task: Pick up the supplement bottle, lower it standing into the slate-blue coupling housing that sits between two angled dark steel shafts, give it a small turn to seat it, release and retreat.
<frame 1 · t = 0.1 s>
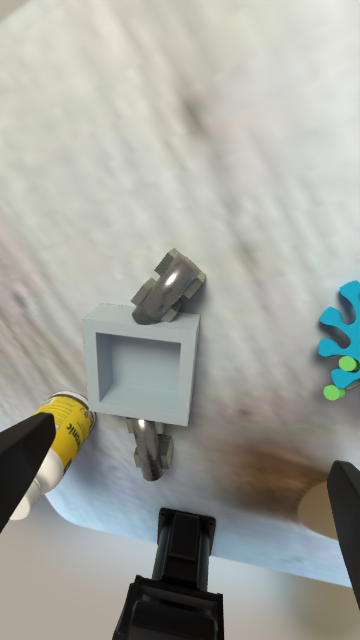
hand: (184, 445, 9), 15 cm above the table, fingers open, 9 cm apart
shaft a: (154, 424, 28), on the table
supplement bottle: (73, 409, 29), on the table
shaft b: (171, 284, 22), on the table
housing: (149, 353, 25), on the table
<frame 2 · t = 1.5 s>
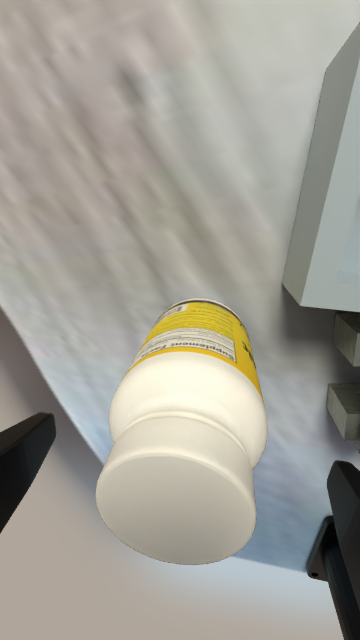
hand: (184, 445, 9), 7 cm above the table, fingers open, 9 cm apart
supplement bottle: (200, 339, 16), on the table
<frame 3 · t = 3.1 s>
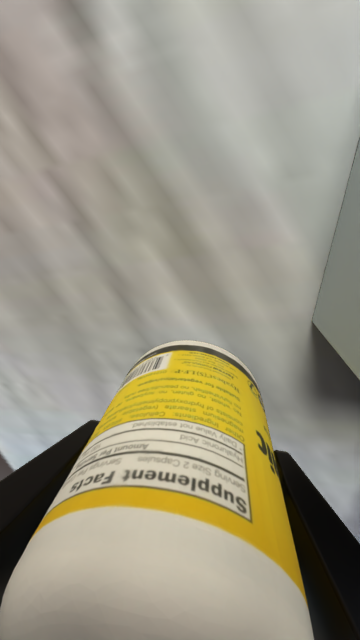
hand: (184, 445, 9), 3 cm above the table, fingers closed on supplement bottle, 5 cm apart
supplement bottle: (193, 393, 11), on the table, touching gripper
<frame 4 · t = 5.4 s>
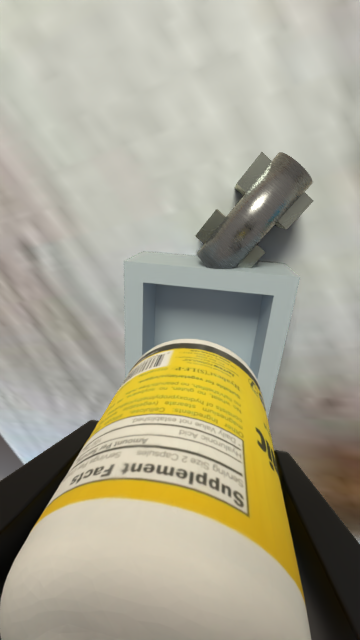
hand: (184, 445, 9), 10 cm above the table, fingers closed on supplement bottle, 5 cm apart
supplement bottle: (194, 391, 11), point 7 cm above the table, touching gripper
shaft b: (246, 219, 16), on the table
housing: (205, 322, 18), on the table
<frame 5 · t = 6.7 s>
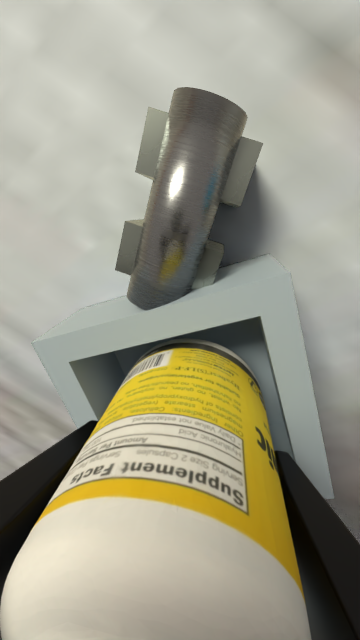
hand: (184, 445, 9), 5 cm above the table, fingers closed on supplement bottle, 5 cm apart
supplement bottle: (194, 391, 11), point 2 cm above the table, touching gripper
shaft b: (189, 216, 11), on the table
housing: (196, 368, 13), on the table
when the fingers open (5 cm above the table, at t = 7.8 s): supplement bottle stays where it is, resting on housing.
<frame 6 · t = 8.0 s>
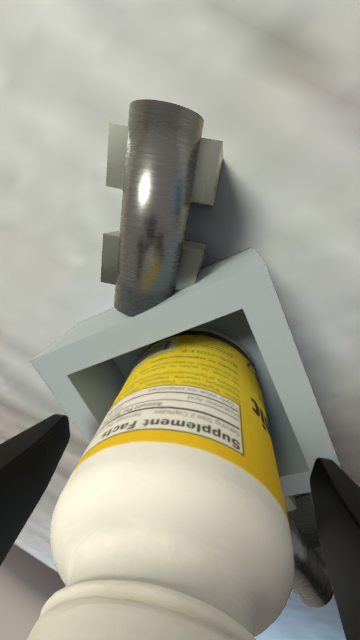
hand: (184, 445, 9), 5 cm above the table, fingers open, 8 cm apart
shaft a: (268, 485, 15), on the table
supplement bottle: (198, 375, 13), resting on housing
shaft b: (169, 220, 11), on the table
housing: (197, 369, 13), on the table
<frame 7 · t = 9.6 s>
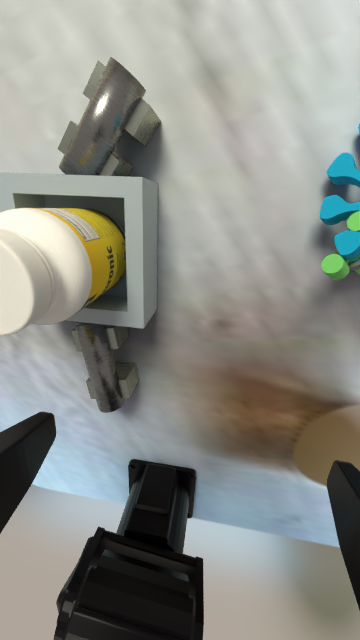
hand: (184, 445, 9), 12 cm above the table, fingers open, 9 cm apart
shaft a: (113, 348, 22), on the table
supplement bottle: (97, 249, 19), resting on housing
shaft b: (117, 141, 17), on the table
housing: (98, 247, 20), on the table
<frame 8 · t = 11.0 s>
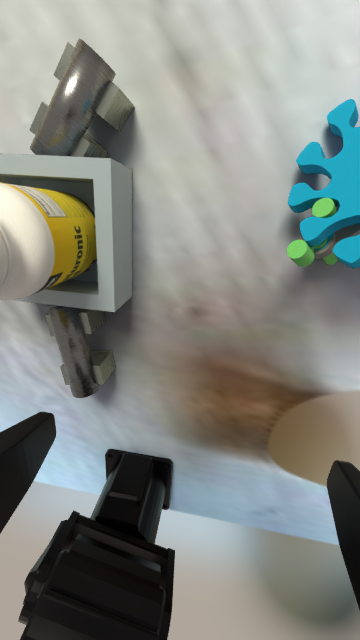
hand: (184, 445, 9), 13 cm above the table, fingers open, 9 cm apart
shaft a: (90, 335, 22), on the table
supplement bottle: (72, 234, 19), resting on housing
shaft b: (92, 125, 17), on the table
housing: (74, 233, 20), on the table
gear: (354, 182, 16), on the table
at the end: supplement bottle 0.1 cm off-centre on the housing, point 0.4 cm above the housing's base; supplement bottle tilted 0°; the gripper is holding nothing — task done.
